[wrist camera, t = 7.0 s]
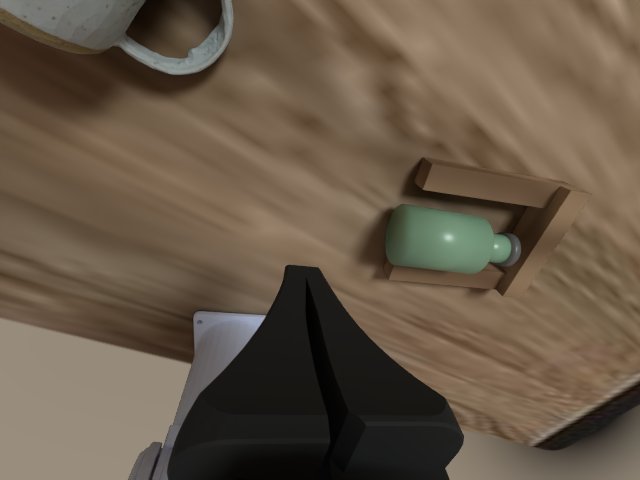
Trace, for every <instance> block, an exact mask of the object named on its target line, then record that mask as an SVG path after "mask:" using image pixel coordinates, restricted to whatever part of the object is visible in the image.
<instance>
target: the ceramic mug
mask: <svg viewBox="0 0 640 480" xmlns="http://www.w3.org/2000/svg"><path fill="white" fill-rule="evenodd" d="M145 1H146V0H0V23H1V24H3V25H5V26H7V27H9V28H11V29H13V30H15V31H17V32H19V33H21V34H23V35H25V36H28V37H30V38H32V39H34V40H36V41H38V42H41V43H43V44H46V45H48V46H51V47H54V48H57V49H60V50H63V51H66V52H70V53H76V54H82V55H84V54H99V53H102V52H105V51H106V50H107V49H109V48H110V47H112V46H118V47H120V48H122V49H123V50H124V51H125V52H126V53H127V54H129V55H130V56H132V57H134V58H135V59H136V60H137V61H139V62H141V63H144V64H145V65H147V66H149V67H151V68H153V69H156V70H159V71H162V72H165V73H168V74H173V75H184V74H191V73H197V72H200V71H202V70H204V69H205V68H207V67H209V66H210V65H211V64H213V63H214V62H215V61H216V60H217V59H218V58H219V56H220V55H221V54H222V53H223V52H224V51H225V49H226V47H227V45H228V43H229V41H230V38H231V36H232V28H233V21H234V17H233V8H232V1H231V0H221V1H222V15H221V17H220V22H219V24H218V26H216V27H215V28H214V30H213V31H212V32H211V33H210V35H209V36H208V37H207V38H206V39H205V41H204V42H202V43H201V44H200V45H199V46H198V47H197V48H192V49H190V51H189V53H188V58H183V59H178V58H167V57H164V56H161V55H159V54H158V53H156V52H152V51H150V50H149V49H147V48H145V47H144V46H142V45H140V44H138V43H137V42H135V41H134V40H133V39H131V38H130V37H128V36H127V35H126V33H125V32H126V30H127V29H128V27H129V25H130V24H131V22H132V20H133V19H134V17H135V16H136V14H137V12H138V11H139V9H140V8H141V6H142V5H143V4H144V2H145Z"/></svg>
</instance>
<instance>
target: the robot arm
mask: <svg viewBox="0 0 640 480" xmlns="http://www.w3.org/2000/svg"><path fill="white" fill-rule="evenodd" d="M198 320H200V321H198ZM193 323H194V348H195V356H194V359H193V362H192V365H191V369H190V372H189V375H188V378H187V381H186V384H185V388H184V391H183V394H182V397H181V400H180V404H179V407H178V410H177V413H176V416H175V419H174V423H173V425H171V426H170V428H169V431H168V434H167V437H166V440H165V443H164V446H163V448H161V446H162V443H160V442H153V443H152V444H151V445H150V447H148V448H146V449H145V450H144V451H143V452H141V453H140V455H139V456H138V458H137V460H136V462H135V464H134V467H133V469H132V471H131V474H130V476H129V479H128V480H449V477H448V474H447V472H446V470H445V468H446V466H447V465H448V464H449V463H450V461H451V460H452V459H453V458H454V457H455V456H456V454H457V453H458V452H459V450H460V448H461V447H462V445H463V441H464V435H463V433H462V431H461V429H460V427H459V425H458V422H457V420H456V418H455V416H454V413H453V411H452V410H451V408H450V406H449V404H448V402H447V401H446V399H445V398H444V397H443V396H442V395H440V394H439V393H437V392H436V391H434V390H433V389H431V388H430V387H428V386H427V385H425V384H424V383H423V382H421V381H420V380H418V379H417V378H415V377H414V376H413V375H412V374H410V373H409V372H408V371H406V370H405V369H404V368H403V367H401V366H400V365H399V364H398V363H396V362H395V361H394V360H393V359H392V358H390V357H389V356H388V355H387V354H386V353H385V352H384V351H383V350H382V349H381V348H379V347H378V346H377V345H376V344H375V343H374V342H373V341H372V340H371V339H370V338H369V337H368V336H367V335H366V334H365V332H364V331H363V330H362V329H361V328H360V327H359V326H358V325H357V323H356V322H355V321H354V320H353V319H352V317H351V316H350V315H349V313H348V312H347V311H346V309H345V308H344V307H343V305H342V304H341V302H340V301H339V300H338V298H337V297H336V295H335V294H334V292H333V291H332V289H331V287H330V286H329V284H328V283H327V281H326V279H325V277H324V276H323V274H322V272H321V270H320V269H319V268H318V267H307V266H297V265H287V266H286V267H285V272H284V278H283V282H282V285H281V287H280V290H279V292H278V294H277V296H276V299H275V301H274V302H273V304H272V306H271V308H270V310H269V312H268V313H267V315H252V314H237V313H221V312H206V311H197V312H196V313H195V314H194V317H193Z"/></svg>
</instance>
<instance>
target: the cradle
mask: <svg viewBox="0 0 640 480" xmlns="http://www.w3.org/2000/svg"><path fill="white" fill-rule="evenodd" d="M414 182H415V183H416V184H417V185H418V186H419V187H420V188H421V189H422V190H427V191H434V192H440V193H447V194H453V195H460V196H466V197H473V198H479V199H486V200H493V201H499V202H506V203H512V204H519V205H525V206H527V208H526V210H525V212H524V213H523V215H522V217H521V218H520V220H519V222H518V224H517V225H516V227H515V229H514V230H513V232H512V234H513V235H515V236H516V237H517V238H518V239H519V241H520V244H521V254H520V256H519V259H518V260H517V261H516V262H515V263H514V264H513V265H511V266H508V267H503V266H496V265H494V264H493V263H491V262H488V263H487V265H486V266H485V267H484V268H483V269H482V270H481V271H479V272H477V273H475V274H464V273H456V272H448V271H440V270H432V269H423V268H415V267H407V266H399V265H393V264H391V263H390V262H389V260H388V258H387V259H386V261H385V264H384V267H383V269H384V271H385V273H386V275H387V277H388V279H389V280H398V281H408V282H419V283H430V284H441V285H452V286H463V287H474V288H484V289H495V290H497V291H498V292H499V293H500V294H501V295H502V296H503V297H513V298H521V297H522V296H523V294H524V293H525V291H526V290H527V289H528V287H529V286H530V284H531V283H532V281H533V280H534V278H535V277H536V276H537V274H538V273H539V271H540V270H541V268H542V267H543V265H544V264H545V262H546V261H547V260H548V258H549V257H550V255H551V254H552V252H553V251H554V249H555V248H556V247H557V245H558V244H559V242H560V241H561V239H562V238H563V236H564V235H565V233H566V232H567V231H568V229H569V228H570V226H571V225H572V223H573V222H574V220H575V219H576V217H577V216H578V215H579V213H580V212H581V210H582V209H583V207H584V206H585V204H586V203H587V202H588V200H589V199H590V197H591V196H592V194H591V193H589V192H586V191H584V190H582V189H579V188H577V187H575V186H572V185H570V184H568V183H565V182H562V181H556V180H551V179H545V178H539V177H533V176H528V175H522V174H516V173H510V172H505V171H499V170H493V169H487V168H482V167H476V166H470V165H464V164H459V163H453V162H447V161H441V160H436V159H430V158H424V157H423V159H422V161H421V164H420V167H419V170H418V172H417V175H416V178H415V181H414Z"/></svg>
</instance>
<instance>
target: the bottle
mask: <svg viewBox="0 0 640 480" xmlns="http://www.w3.org/2000/svg"><path fill="white" fill-rule="evenodd" d="M385 250H386V255H387V258H388V260H389V262H390V263H391V264H393V265H399V266H407V267H415V268H423V269H432V270H440V271H448V272H456V273H464V274H475V273H477V272H479V271H481V270H482V269H483V268H484V267H485V266H486V265H487V263H488V262H491V263H493V264H494V265H496V266H503V267H508V266H511V265H513V264H514V263H515V262H516V261H517V260H518V259H519V256H520V254H521V244H520V241H519V239H518V238H517V237H516V236H515V235H513V234H510V233H503V232H501V233H497V234H493V230H492V228H491V226H490V224H489V223H488V221H487V220H486V219H484V218H482V217H479V216H474V215H468V214H462V213H456V212H450V211H443V210H437V209H431V208H425V207H419V206H413V205H407V204H401V205H399V206H398V207H397V208H396V209H395V210H394V211H393V213H392V215H391V217H390V220H389V222H388V225H387V229H386V236H385Z"/></svg>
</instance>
